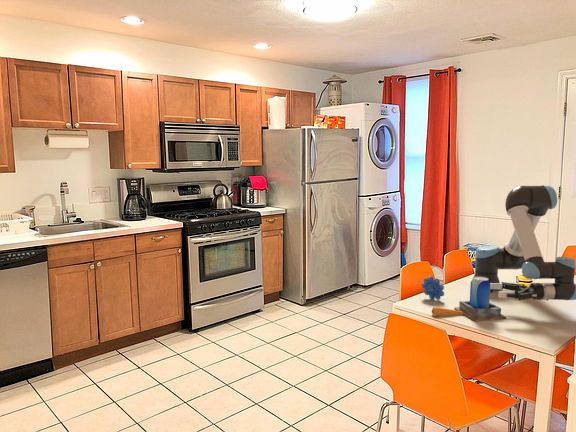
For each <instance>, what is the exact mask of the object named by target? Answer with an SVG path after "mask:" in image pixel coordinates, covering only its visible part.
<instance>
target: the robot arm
mask: <svg viewBox="0 0 576 432" xmlns="http://www.w3.org/2000/svg"><path fill="white" fill-rule="evenodd" d="M557 204H558V194H557V191H556V190H555V188H554V187H552V186H551V185H545V184H542V185H519V186H516V187H514V188H512V189H511V190H510V191H509V192H508V194H507V196H506V199H505V205H504V206H505V211H506V214H507V216H510V220H511V223H512V226H513V229H514V231H513V233H512V235H511V237H510V240H509V241H507V242H505V244H504V245H503V247H502V248H501V247H499V246H497V245H482V246H479V247H477V248H476V250H475V257H474V258H475V262H474V264H475V265H474V266H475V267H474V275H473V277H486V278H488V281H489V282H490V292H498V293H497V294H498V296H497V298H499V299H515V300H517V301H521V300H527V299H533V300H546V301H550V300H555V301H556V300H557V301H574V300H575V301H576V283H575V275H576V274H575V272H576V260H575V259H574V258H573V257H569V256H568V257H567V256H557V257H556V258H555V261H545V260H544V257H543V254H542V251H541V248H540V246H539V245H540V244H539V242H538V239H537V237H536V233H535V230H536V227H537V225H538V224H539V222H540V219H541V217H544V216H546V214H547V213H548V211H549V210H552V209H555V208H556V207H557ZM499 270H514V271H515V270H521V274H522V276H524V278H526V279H530V280H543V279H546V280H547V279H554V282H531V283H530V284H529V286H528V285H525V284H524V283H523V284H522V283H514V282H505V281H501V282H500V280H499V276H498V274H499ZM472 280H473V278H472ZM472 280H471V281H472ZM500 290H501V291H500ZM503 290H506V291H503ZM507 290H508V291H507Z"/></svg>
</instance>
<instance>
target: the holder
mask: <svg viewBox="0 0 576 432" xmlns="http://www.w3.org/2000/svg"><path fill="white" fill-rule="evenodd" d="M453 310H456V311H462V312H464V313H463V315H462V316H465V317H466V318H468V319H469V320H471V321H472V322H480V321H482V322H484V321H493V320H506V319H507V316H506V315H504V314H502V308H501V307H499V306H497V305H496V304H495V303H494V304H493V303H491V302H490V303H489V308H484V309H475V308H473V307H472V306H470V300H459V306H456V307H453Z"/></svg>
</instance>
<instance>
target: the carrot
mask: <svg viewBox="0 0 576 432" xmlns="http://www.w3.org/2000/svg"><path fill="white" fill-rule="evenodd" d="M431 313H432V316H434V317H449V316H450V317H453V316H464V315H463V313H464V312H462V311H456V310H454V309H450V308H444V307H440V306H439V307H438V306H434V307H432V309H431Z"/></svg>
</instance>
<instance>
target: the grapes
mask: <svg viewBox="0 0 576 432" xmlns="http://www.w3.org/2000/svg"><path fill="white" fill-rule="evenodd" d="M422 279H423V281H422V283H421V288H422V289H423V293H424V294H425V296H428V297H429V299H431V300H435V299H436V300H437V301H440V299H442V298H441V297H443V296H445V292H444V290H445V286H444V285H443V284H441V282H440V280H439V278H434V277H433V276H432V275H430V276H428V278H427V277H424V278H422Z"/></svg>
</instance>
